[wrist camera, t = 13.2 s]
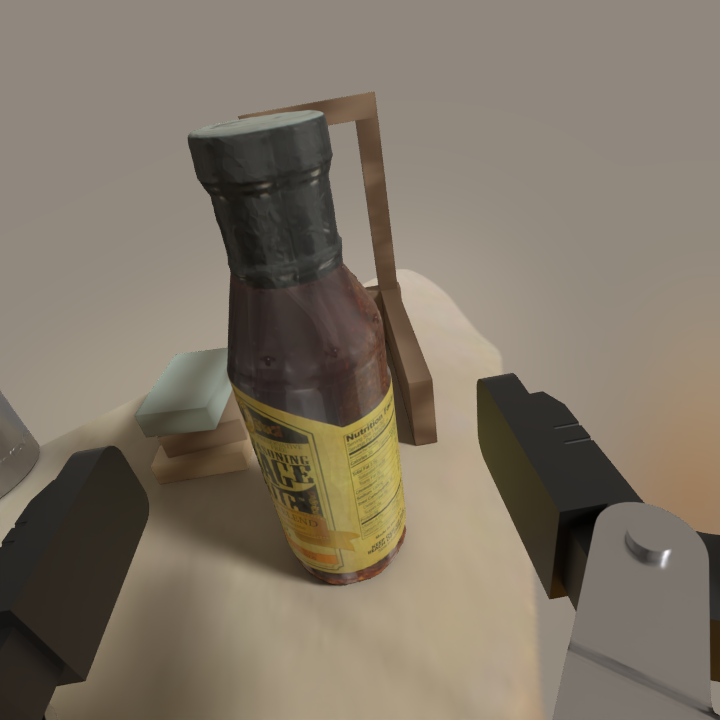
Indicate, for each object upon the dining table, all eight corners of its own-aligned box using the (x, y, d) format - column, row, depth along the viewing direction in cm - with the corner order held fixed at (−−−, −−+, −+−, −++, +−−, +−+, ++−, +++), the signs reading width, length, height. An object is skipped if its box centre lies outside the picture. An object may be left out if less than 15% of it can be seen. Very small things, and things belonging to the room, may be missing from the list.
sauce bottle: (277, 526, 25) (128, 138, 14) (371, 475, 27) (301, 105, 17) (326, 627, 20) (152, 142, 9) (438, 554, 22) (397, 94, 12)
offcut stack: (161, 486, 29) (126, 424, 27) (193, 403, 37) (169, 349, 34) (252, 470, 29) (228, 407, 26) (266, 391, 37) (247, 335, 34)
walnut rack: (293, 466, 29) (185, 135, 18) (301, 348, 42) (240, 115, 31) (441, 441, 29) (416, 93, 18) (403, 330, 42) (376, 91, 31)
